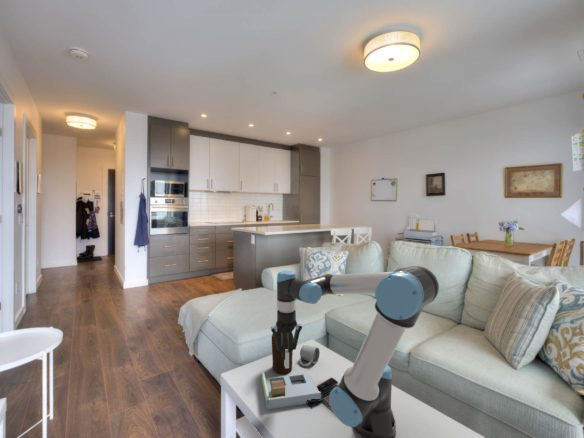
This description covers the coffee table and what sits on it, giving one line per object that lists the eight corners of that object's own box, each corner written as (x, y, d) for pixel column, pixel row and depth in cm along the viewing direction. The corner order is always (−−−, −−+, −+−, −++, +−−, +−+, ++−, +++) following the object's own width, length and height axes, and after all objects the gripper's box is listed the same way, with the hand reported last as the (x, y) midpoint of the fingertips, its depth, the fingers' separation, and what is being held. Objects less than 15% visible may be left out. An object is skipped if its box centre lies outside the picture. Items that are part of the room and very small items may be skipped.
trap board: (320, 401, 115) (320, 388, 114) (266, 409, 110) (266, 396, 110) (309, 377, 130) (309, 366, 130) (262, 383, 126) (262, 372, 125)
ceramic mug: (306, 354, 150) (306, 340, 150) (319, 359, 146) (319, 344, 145) (295, 364, 141) (295, 349, 141) (310, 369, 137) (310, 354, 136)
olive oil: (274, 377, 131) (274, 324, 129) (269, 364, 141) (269, 315, 139) (296, 372, 134) (296, 321, 133) (289, 361, 144) (289, 313, 143)
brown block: (285, 397, 114) (285, 387, 113) (272, 398, 112) (272, 389, 112) (282, 389, 118) (282, 379, 118) (271, 390, 117) (271, 381, 117)
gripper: (299, 305, 119) (299, 359, 120) (269, 307, 116) (269, 363, 118) (304, 311, 112) (304, 369, 113) (271, 314, 109) (272, 373, 110)
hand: (286, 366), depth 115 cm, fingers closed
